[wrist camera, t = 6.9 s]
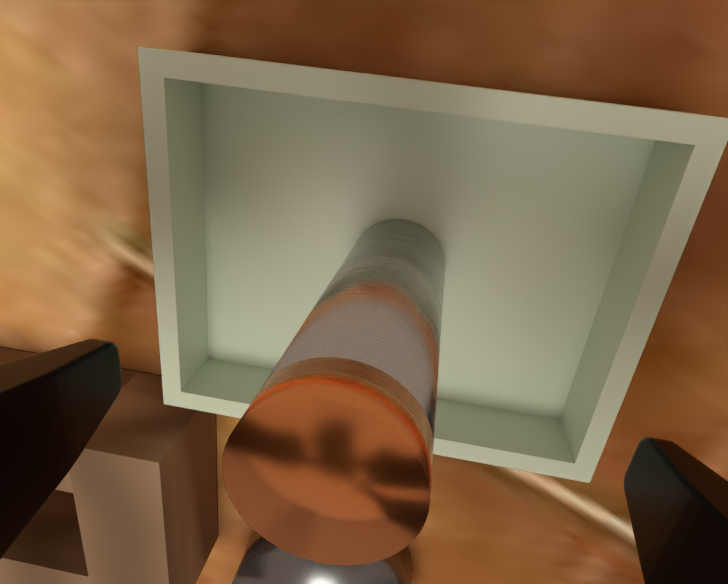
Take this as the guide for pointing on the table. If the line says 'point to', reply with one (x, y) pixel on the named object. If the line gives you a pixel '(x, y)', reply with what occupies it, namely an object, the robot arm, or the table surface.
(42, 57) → the table surface
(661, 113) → the tray
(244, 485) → the pin
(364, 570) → the dark grey knobbed lid
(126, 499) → the block
